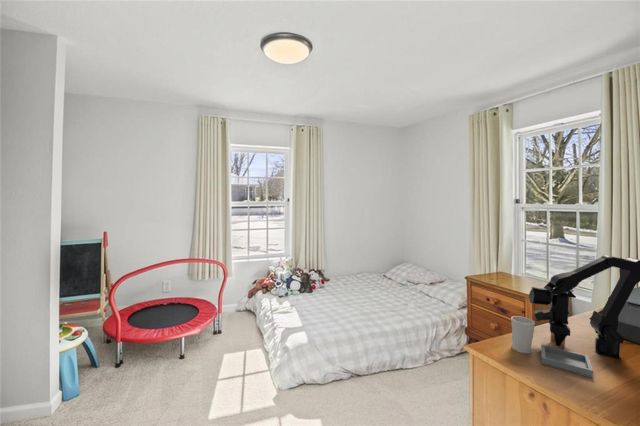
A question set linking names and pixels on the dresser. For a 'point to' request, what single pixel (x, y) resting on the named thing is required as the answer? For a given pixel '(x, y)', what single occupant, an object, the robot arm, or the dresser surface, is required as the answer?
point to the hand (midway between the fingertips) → (557, 343)
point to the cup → (522, 333)
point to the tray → (566, 360)
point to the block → (553, 343)
